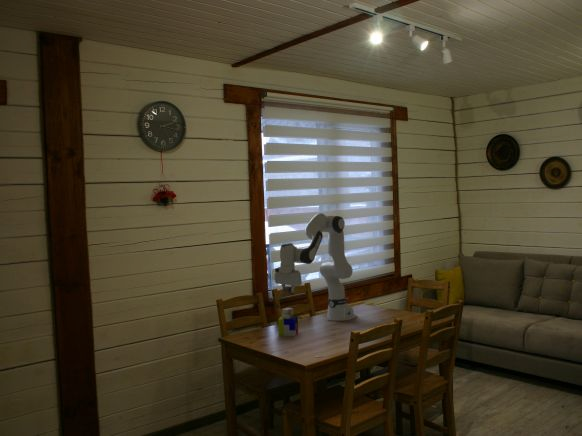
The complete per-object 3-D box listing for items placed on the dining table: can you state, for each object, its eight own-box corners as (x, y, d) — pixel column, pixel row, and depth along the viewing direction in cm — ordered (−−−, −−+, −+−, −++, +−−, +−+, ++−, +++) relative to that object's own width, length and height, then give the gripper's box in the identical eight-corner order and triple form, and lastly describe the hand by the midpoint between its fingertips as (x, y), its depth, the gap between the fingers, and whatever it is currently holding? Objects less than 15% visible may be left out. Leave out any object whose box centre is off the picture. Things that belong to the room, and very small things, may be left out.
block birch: (287, 316, 323) (287, 307, 323) (293, 317, 319) (293, 308, 319) (281, 317, 319) (281, 309, 319) (287, 318, 316) (287, 309, 316)
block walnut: (288, 293, 322) (288, 285, 322) (293, 294, 319) (293, 286, 319) (283, 294, 319) (282, 286, 319) (288, 295, 315) (288, 287, 315)
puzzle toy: (294, 336, 313) (294, 319, 313) (278, 335, 316) (278, 319, 315) (298, 332, 323) (297, 316, 323) (282, 331, 325) (281, 315, 325)
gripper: (303, 269, 314) (304, 292, 314) (279, 268, 328) (280, 289, 328) (296, 271, 309) (297, 294, 309) (272, 269, 323) (273, 291, 324)
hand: (288, 291), depth 319 cm, fingers closed on block walnut, 4 cm apart
